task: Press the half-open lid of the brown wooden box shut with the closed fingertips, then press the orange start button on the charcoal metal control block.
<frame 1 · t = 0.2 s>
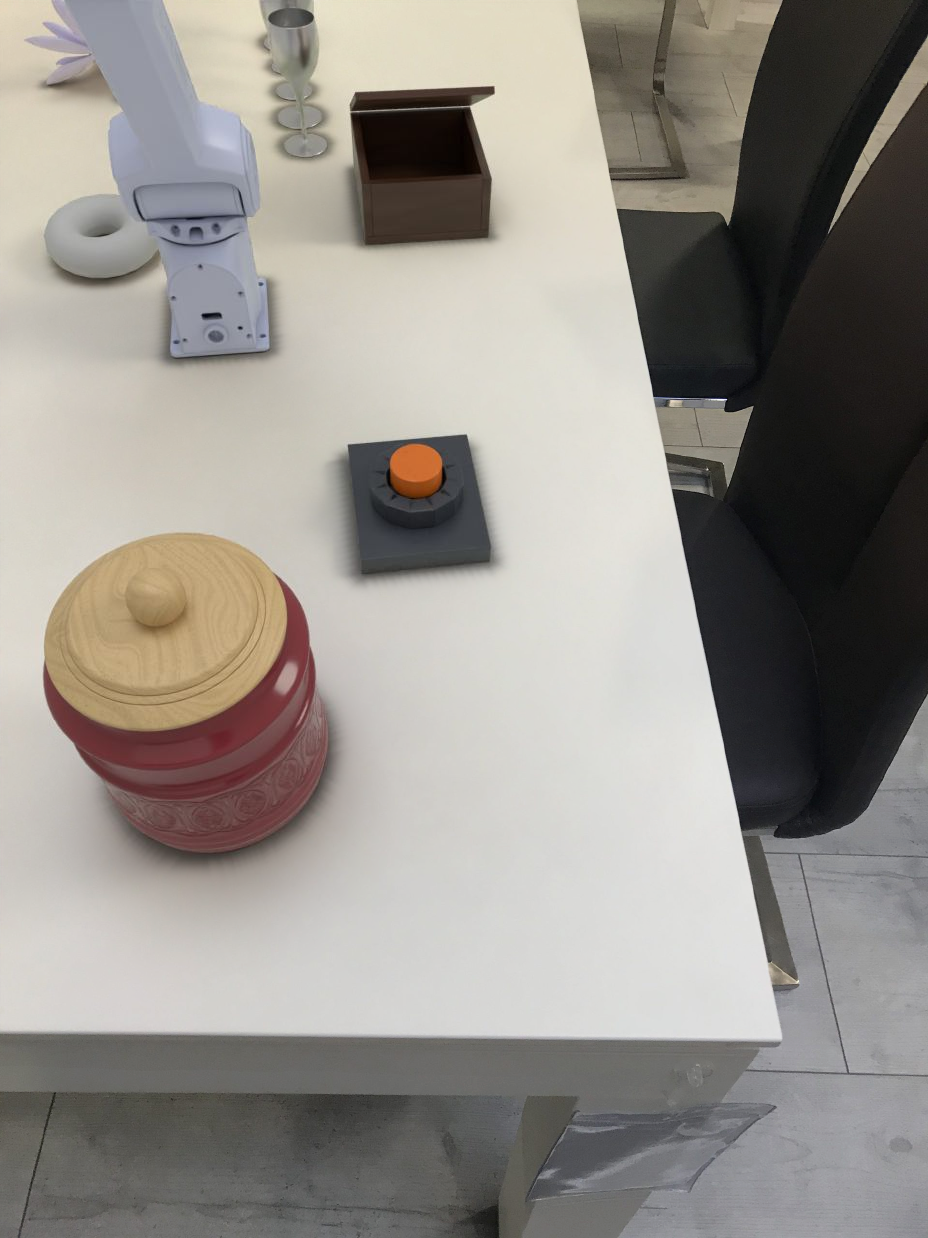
start button: (416, 471, 63), point 4 cm above the table, slide at 0.1 cm
brown wooden box: (419, 202, 89), on the table
goblet set: (294, 91, 100), on the table
kitchen canister: (223, 756, 55), on the table
donut: (109, 253, 83), on the table
water lily: (109, 81, 100), on the table
control block: (416, 509, 67), on the table
lid: (417, 99, 81), point 10 cm above the table, hinge at 30.0°
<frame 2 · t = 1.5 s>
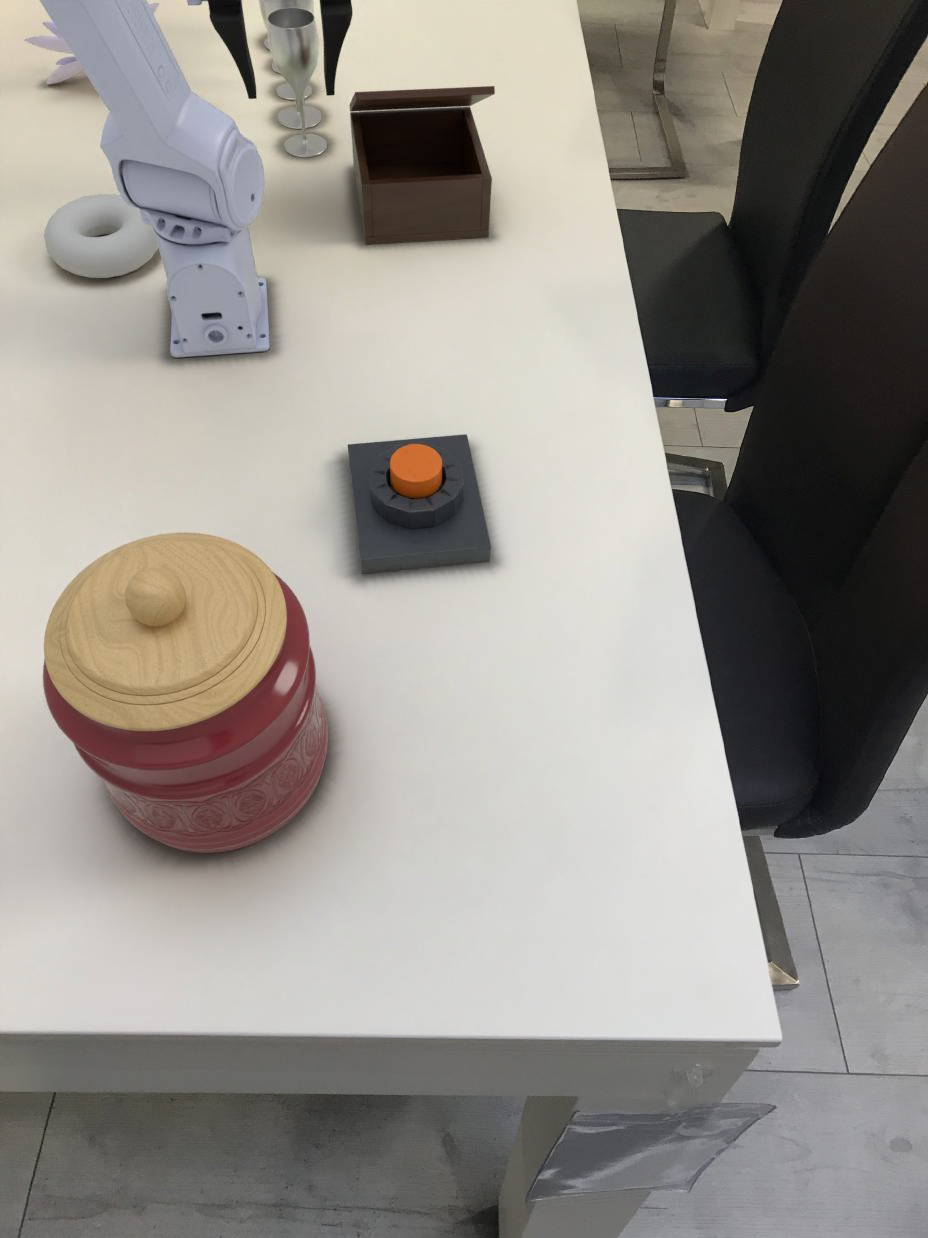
hand: (291, 91, 80), 10 cm above the table, tool pointing down, fingers open, 6 cm apart
nothing on the table moved.
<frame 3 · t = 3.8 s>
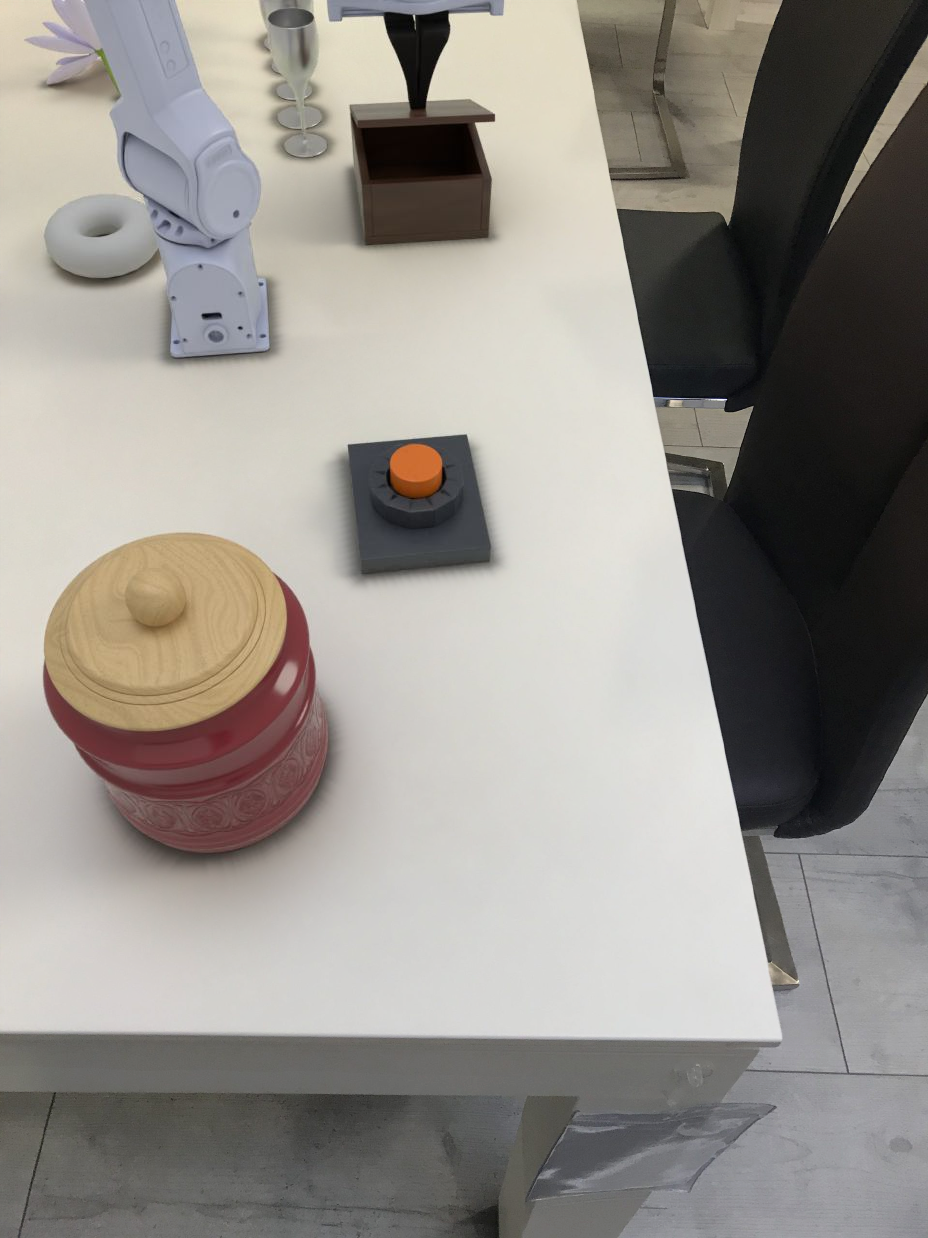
hand: (416, 103, 82), 9 cm above the table, tool pointing down, fingers closed
lid: (418, 112, 82), point 9 cm above the table, hinge at 21.3°
everything else where it was.
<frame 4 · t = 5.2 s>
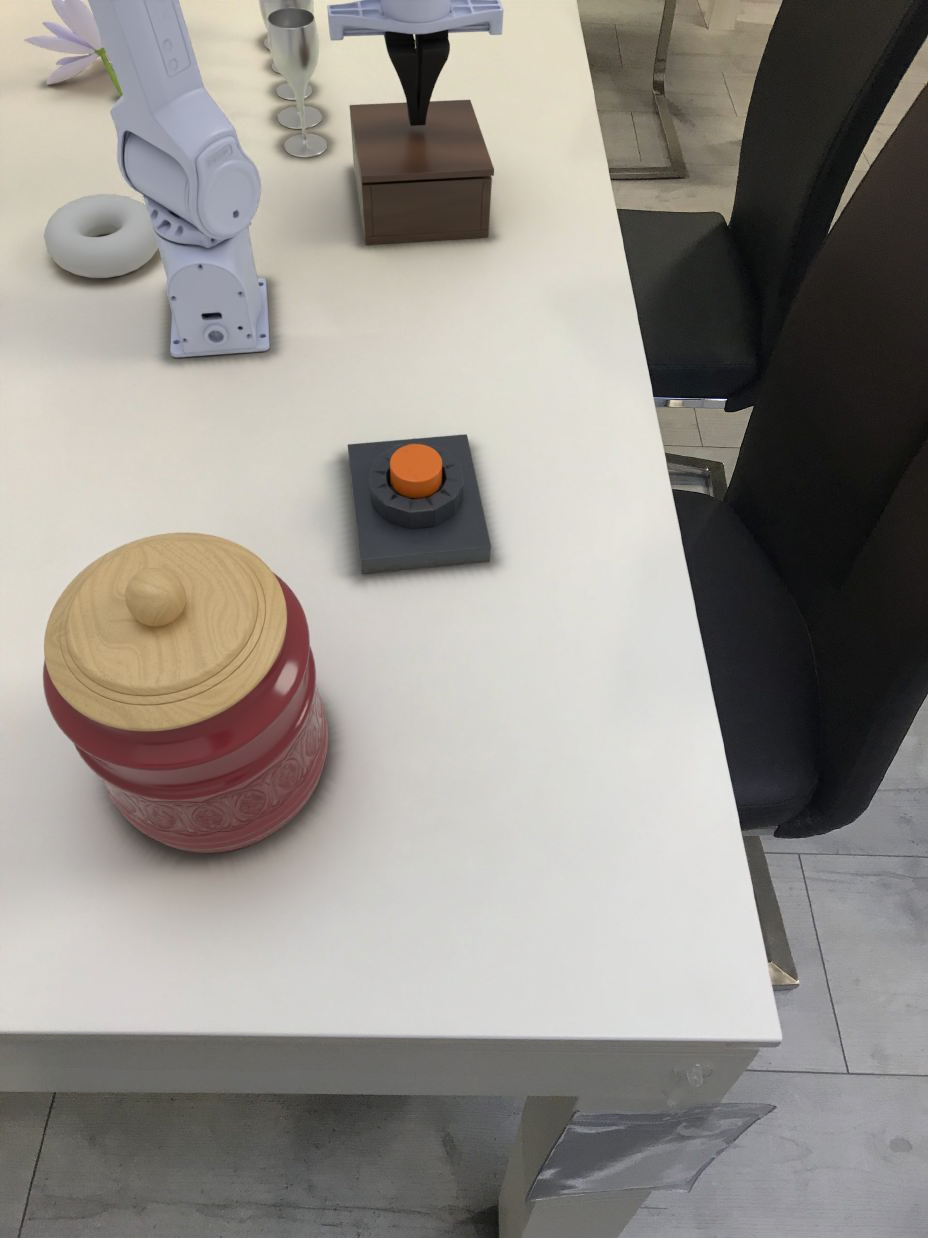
hand: (416, 119, 83), 7 cm above the table, tool pointing down, fingers closed
lid: (419, 138, 83), point 6 cm above the table, hinge at 2.6°
everything else where it was.
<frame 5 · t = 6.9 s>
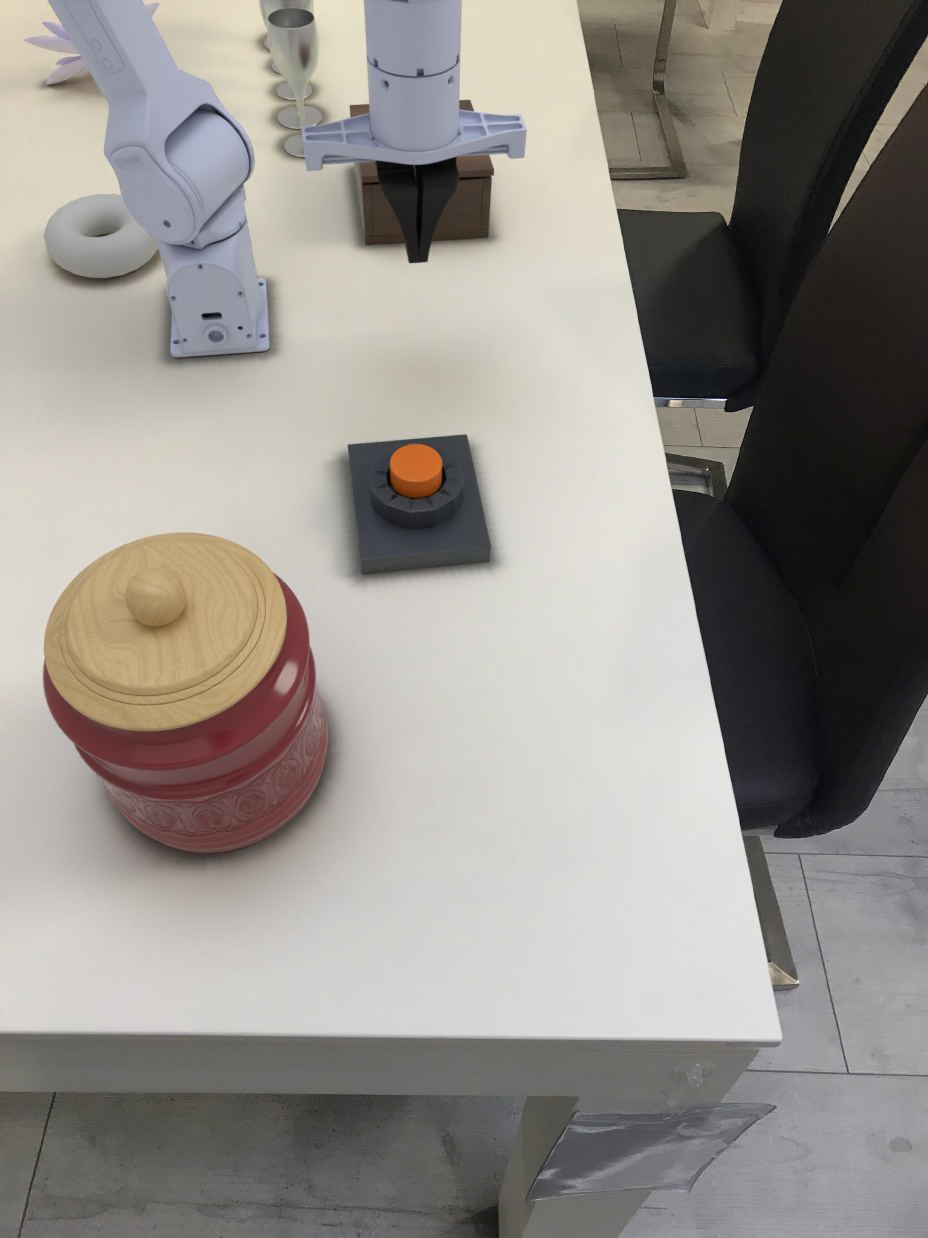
hand: (416, 254, 67), 10 cm above the table, tool pointing down, fingers closed
nothing on the table moved.
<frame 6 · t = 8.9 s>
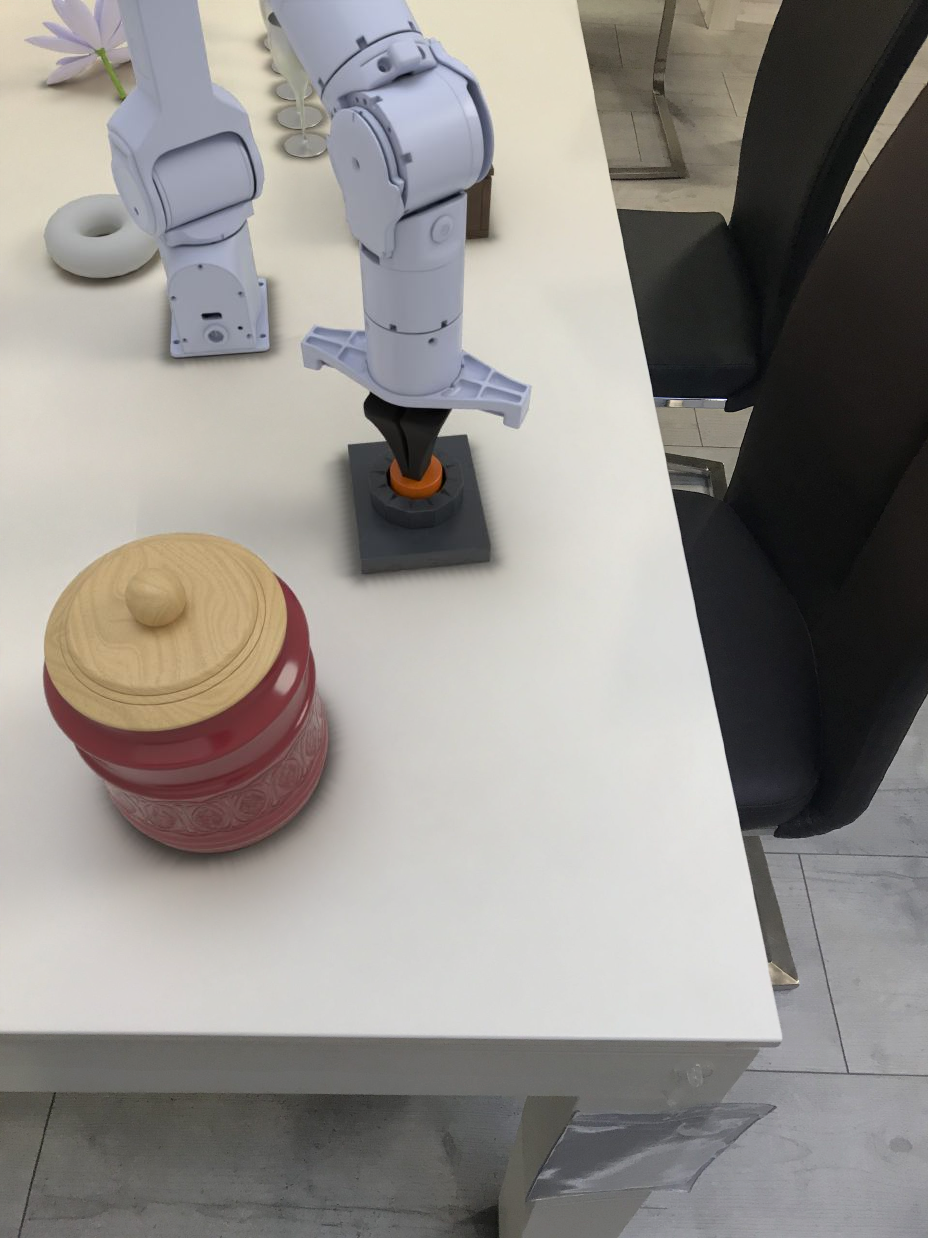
hand: (416, 469, 63), 4 cm above the table, tool pointing down, fingers closed, pressing on start button
start button: (416, 477, 64), point 3 cm above the table, slide at -0.5 cm, touching gripper
everything else where it was.
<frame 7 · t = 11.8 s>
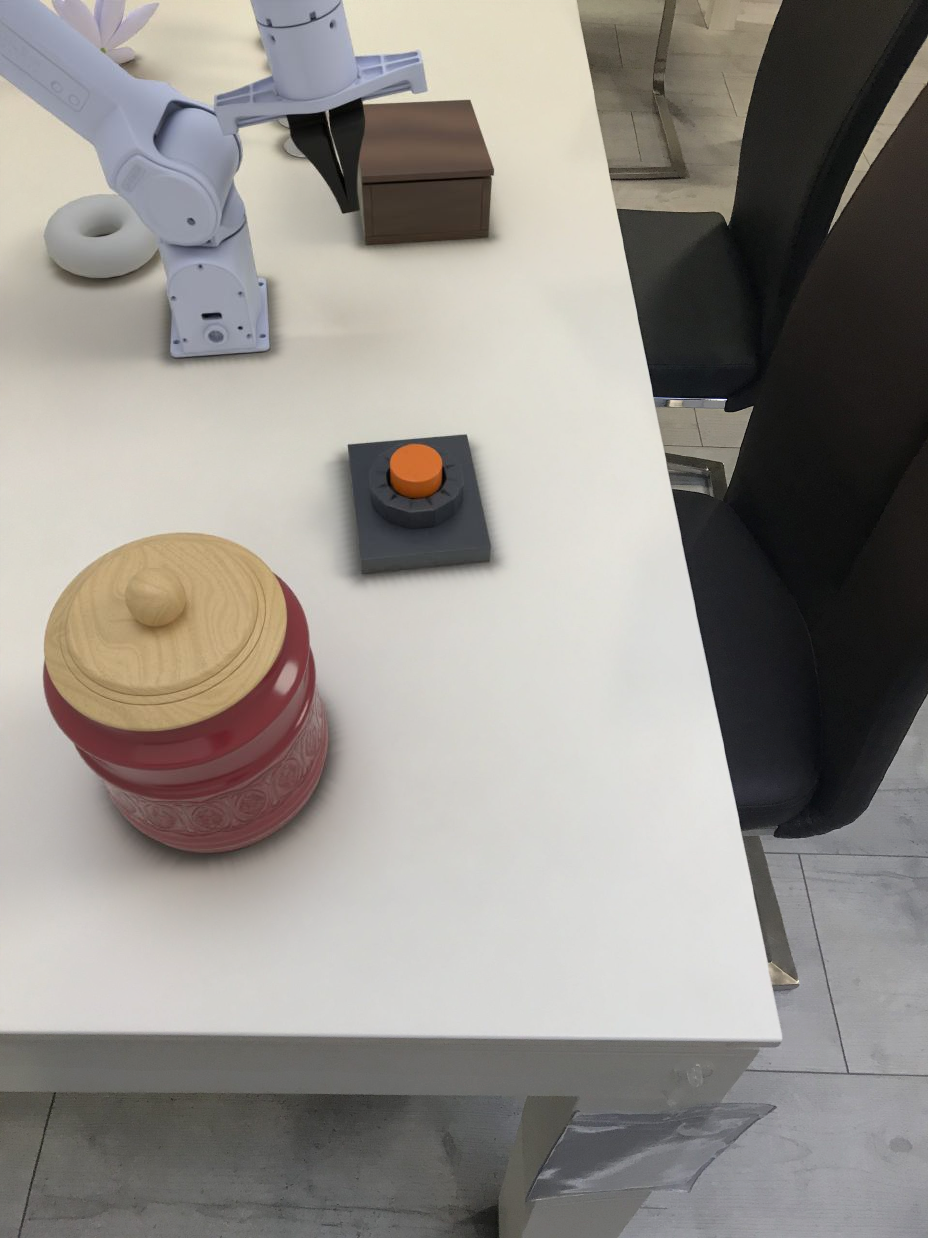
hand: (350, 205, 70), 11 cm above the table, tool pointing down, fingers closed
start button: (416, 471, 63), point 4 cm above the table, slide at 0.1 cm
everything else where it was.
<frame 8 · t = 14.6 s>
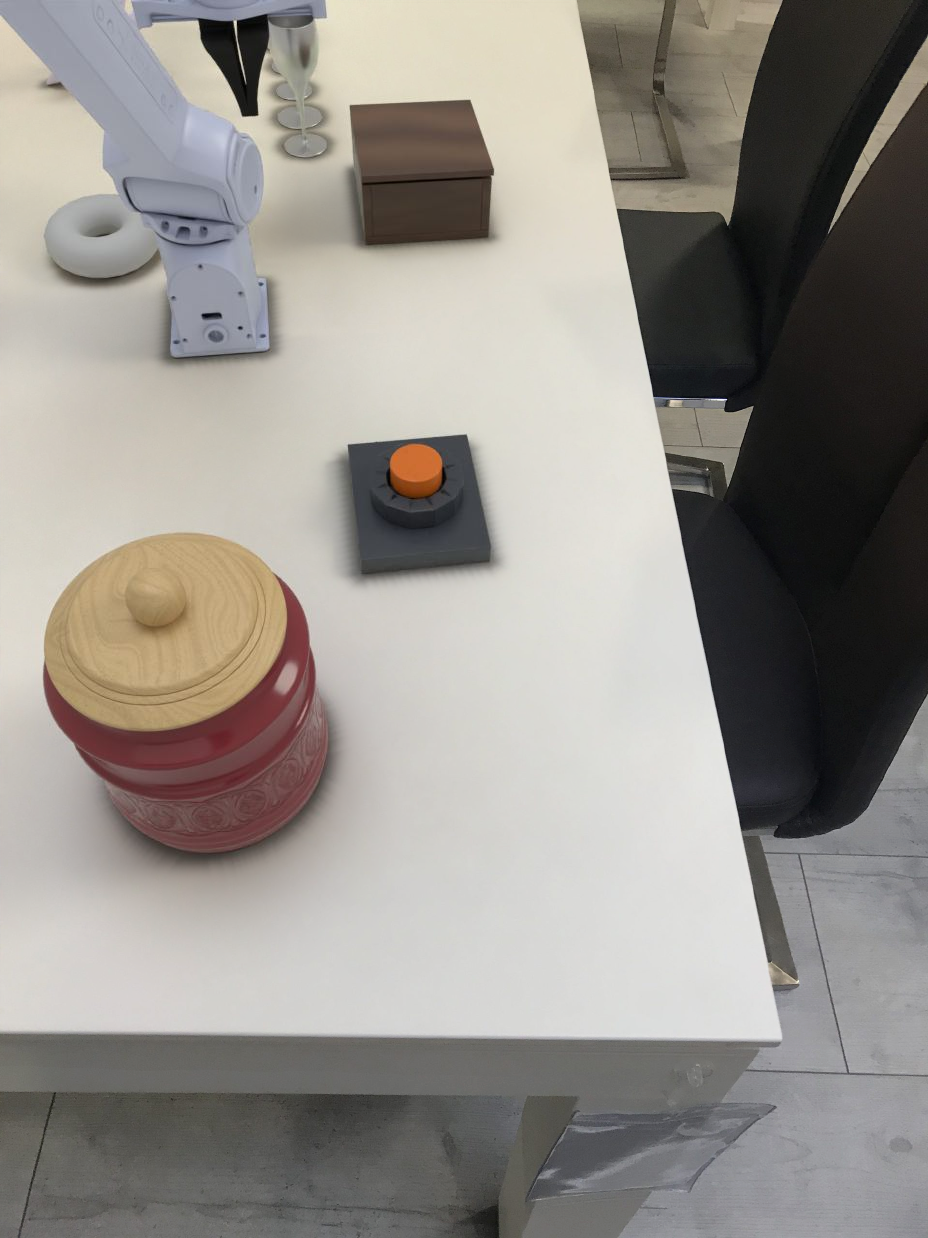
hand: (249, 109, 78), 10 cm above the table, tool pointing down, fingers closed
nothing on the table moved.
at the end: lid at +3° (first picture: +30°); start button pushed in 1.2 cm at the most during the clip, back to where it started at the end; start button slide at 0.1 cm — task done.
